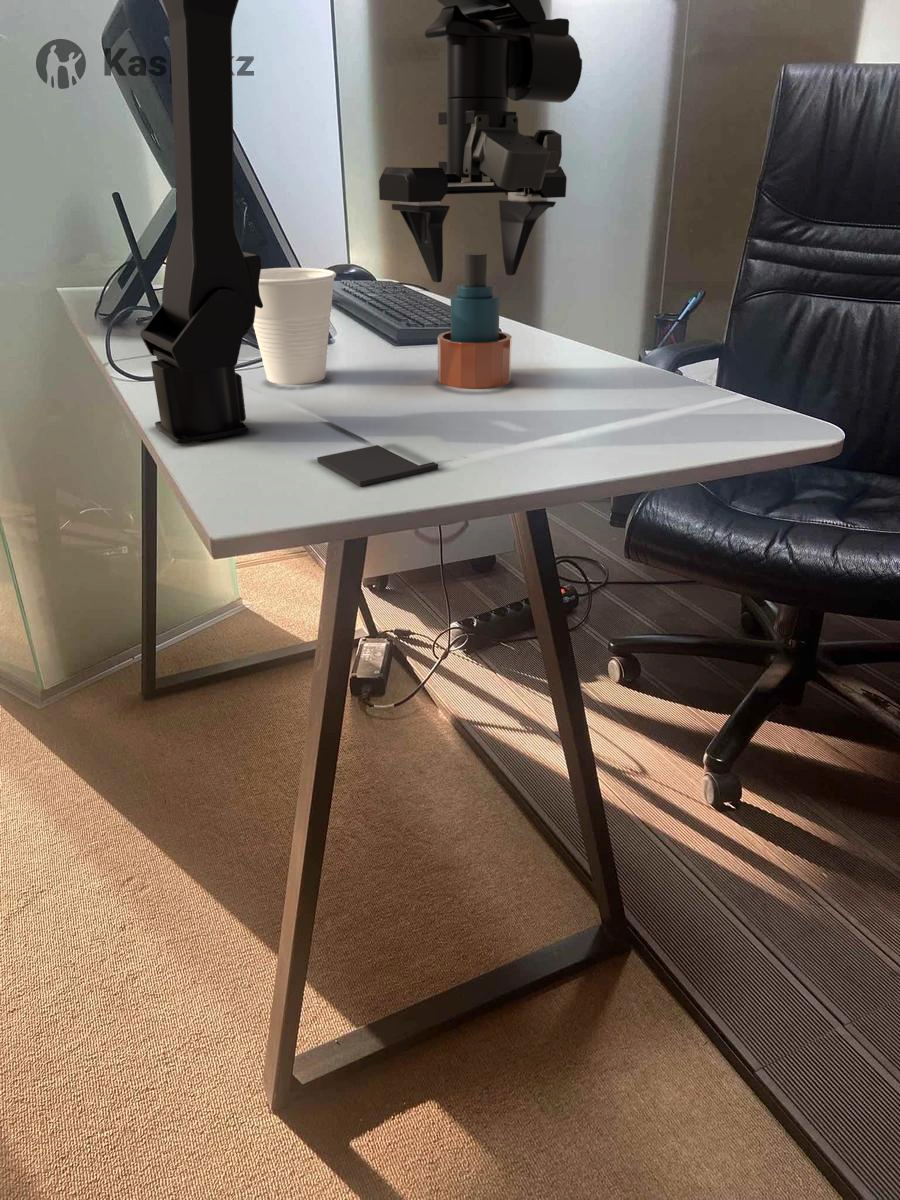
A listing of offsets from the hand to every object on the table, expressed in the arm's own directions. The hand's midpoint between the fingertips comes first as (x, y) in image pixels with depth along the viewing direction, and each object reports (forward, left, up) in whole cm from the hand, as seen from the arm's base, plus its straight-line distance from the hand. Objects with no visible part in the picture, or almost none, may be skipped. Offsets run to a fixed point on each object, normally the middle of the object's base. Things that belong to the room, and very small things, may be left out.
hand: (474, 278), depth 86 cm
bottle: (0, 0, -10) cm, 10 cm away
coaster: (-22, -17, -11) cm, 30 cm away
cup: (-15, +12, -11) cm, 22 cm away
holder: (0, 0, -11) cm, 11 cm away
